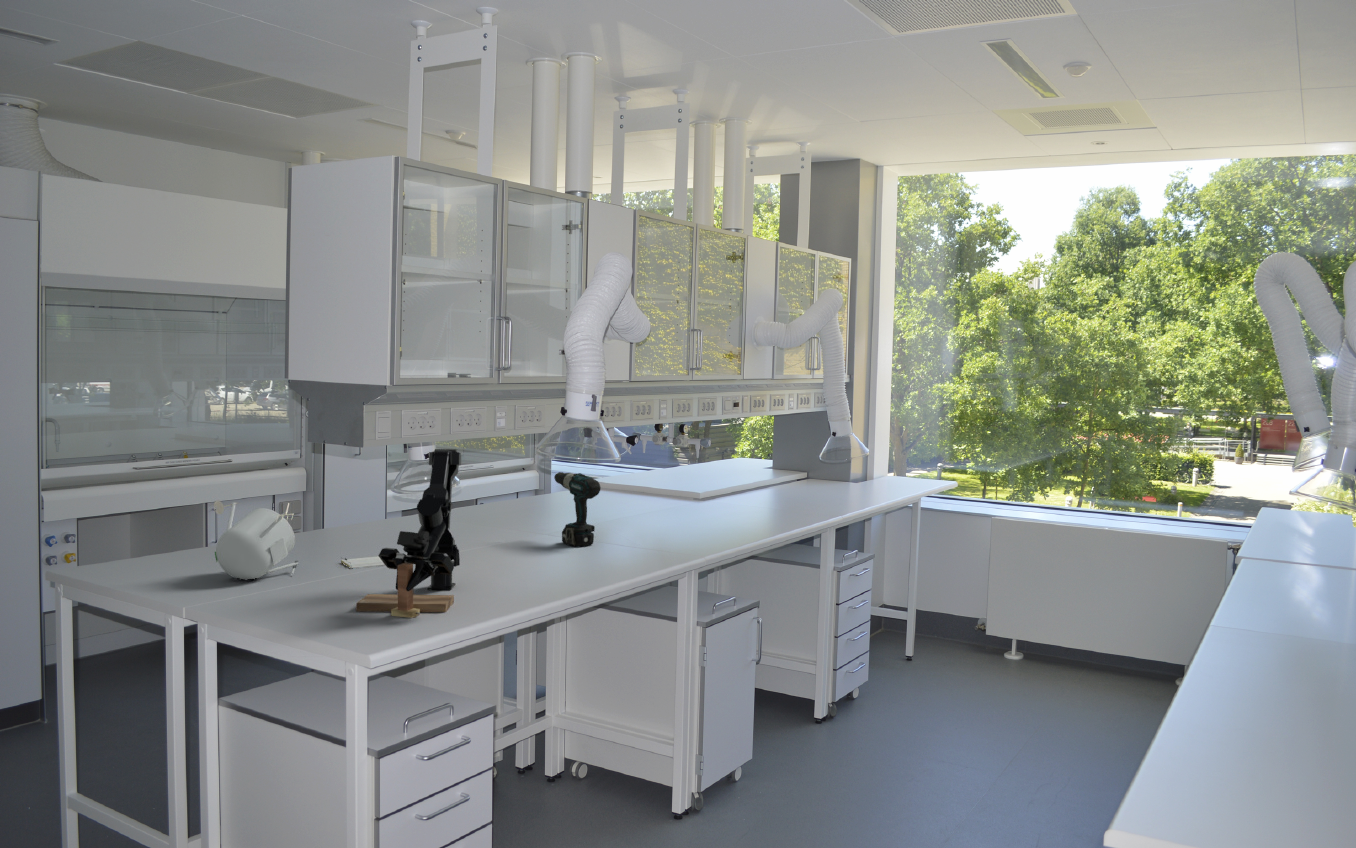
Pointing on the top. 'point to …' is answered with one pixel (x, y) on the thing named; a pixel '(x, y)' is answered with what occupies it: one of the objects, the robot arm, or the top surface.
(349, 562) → the baseboard molding
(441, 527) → the robot arm
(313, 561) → the top surface
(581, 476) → the power drill
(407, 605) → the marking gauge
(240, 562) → the satellite
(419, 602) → the tan wooden flat board
